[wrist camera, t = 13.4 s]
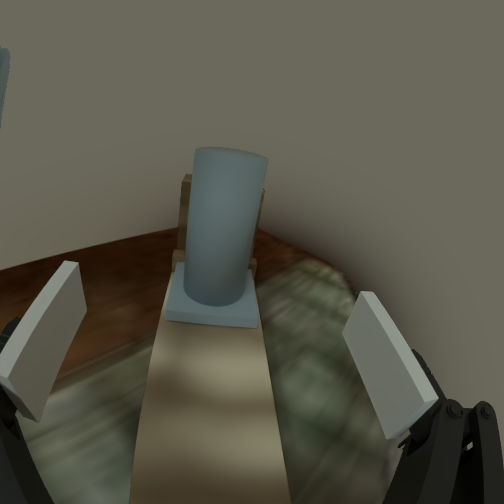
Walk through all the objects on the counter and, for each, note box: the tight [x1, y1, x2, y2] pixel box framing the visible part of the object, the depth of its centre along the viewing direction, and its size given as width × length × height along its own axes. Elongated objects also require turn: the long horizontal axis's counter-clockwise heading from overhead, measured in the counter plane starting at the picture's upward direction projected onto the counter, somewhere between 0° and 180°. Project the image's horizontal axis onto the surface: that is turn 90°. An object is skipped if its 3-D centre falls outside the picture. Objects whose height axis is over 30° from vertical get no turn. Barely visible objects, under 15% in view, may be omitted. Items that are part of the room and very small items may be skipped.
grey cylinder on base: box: [165, 147, 268, 328], centre depth 22 cm, size 7×7×12 cm
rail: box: [129, 174, 291, 504], centre depth 19 cm, size 29×8×10 cm, turn 5°
